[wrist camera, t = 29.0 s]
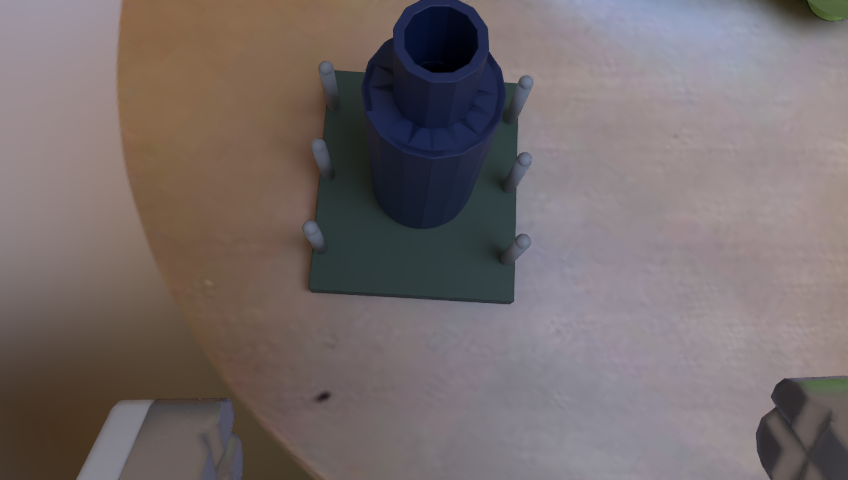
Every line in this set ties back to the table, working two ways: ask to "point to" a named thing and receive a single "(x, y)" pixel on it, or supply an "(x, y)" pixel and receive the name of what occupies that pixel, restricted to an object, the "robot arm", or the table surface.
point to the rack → (400, 245)
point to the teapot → (830, 9)
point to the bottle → (431, 112)
